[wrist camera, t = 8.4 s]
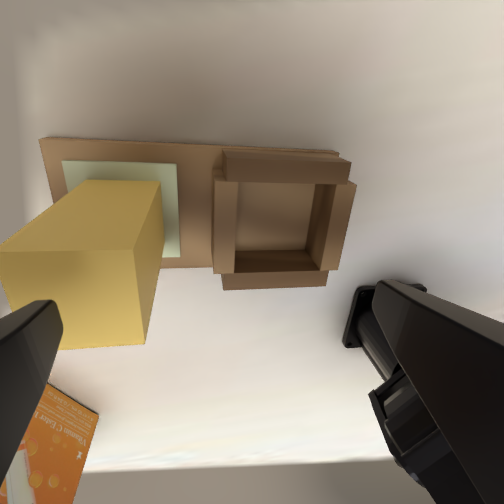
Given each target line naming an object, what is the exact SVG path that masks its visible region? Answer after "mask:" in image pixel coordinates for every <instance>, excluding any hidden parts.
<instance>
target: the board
mask: <svg viewBox="0 0 504 504" xmlns="http://www.w3.org/2000/svg"><path fill="white" fill-rule="evenodd" d="M39 144H40V148H41V152H42V156H43V161H44V165H45V169H46V173H47V177H48V182H49V186H50V190H51V194H52V199H53V203H56V202H57V201H58V200H60V199H61V198H62V197H64V196H65V195H66V194H68V193H69V192H70V191H72V190H73V189H74V188H76V187H77V186H78V185H79V184H81V183H82V182H83V181H85V180H131V181H160V183H161V197H162V211H163V224H164V238H165V245H164V250H163V255H162V260H161V265H160V269H161V268H199V267H213V262H212V254H211V209H212V169H221V170H222V149H240V150H262V151H284V152H307V153H329V154H332V155H334V156H337V157H339V153H338V152H335V151H329V150H308V149H287V148H265V147H244V146H223V145H201V144H180V143H159V142H137V141H116V140H95V139H74V138H52V137H46V138H42V139H39ZM314 190H315V184H297V183H257V182H238V195H237V217H236V239H235V251H253V250H305V245H306V239H307V233H308V227H309V221H310V214H311V208H312V202H313V196H314Z"/></svg>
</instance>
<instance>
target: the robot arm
mask: <svg viewBox="0 0 504 504" xmlns="http://www.w3.org/2000/svg"><path fill="white" fill-rule="evenodd" d="M363 292H364V293H363ZM426 292H427V289H426V287H424V286H423V285H421V284H419V285H410V284H402V283H400V282H397V281H395V280H381V281H379V282H378V283H377V286H371V287H360V288H358V289H357V291H356V293H355V297H354V301H353V305H352V309H351V312H350V316H349V320H348V324H347V327H346V331H345V335H344V339H343V344H344V346H345V347H346V348H358V347H362V349H363V350H364V352H365V353H366V355H367V356H368V358H369V359H370V361H371V362H372V364H373V365H374V367H375V368H376V370H377V371H378V373H379V374H380V376H381V377H382V379H383V380H384V383H383V384H382V385H380V386H379V387H378V388H377V389H376V390H374V389H373V390H372V391H371V392H370V393H369V394H368V395H369V398H370V400H371V403H372V407H373V410H374V412H375V415H376V417H377V420H378V423H379V425H380V428H381V430H382V433H383V435H384V438H385V441H386V443H387V446H388V448H389V451H390V452H391V454H392V455H393V457H394V460H395V462H396V463H397V465H398V466H400V467H401V468H404V469H405V470H406V472H407V473H408V474H409V475H410V476H411V477H412V478H413V479H414V480H415V481H416V482H418V484H420V485H421V486H422V487H424V488H426V489H427V491H428V492H429V493H430V495H431V496H432V498H433V499H434V501H435V502H436V504H504V323H502V322H499V321H496V320H494V319H491V318H489V317H486V316H484V315H481V314H479V313H476V312H474V311H471V310H469V309H466V308H463V307H461V306H458V305H456V304H453V303H451V302H448V301H446V300H443V299H441V298H438V297H435V296H433V295H430V294H428V293H426ZM361 293H363V294H361ZM62 335H63V322H62V319H61V316H60V313H59V309H58V306H57V304H56V302H55V301H54V300H52V299H48V300H36V301H33V302H31V303H29V304H27V305H25V306H24V307H22V308H20V309H18V310H16V311H14V312H12V313H10V314H8V315H6V316H4V317H3V318H1V319H0V488H1V485H2V483H3V481H4V479H5V477H6V474H7V472H8V470H9V468H10V466H11V463H12V461H13V459H14V457H15V454H16V452H17V450H18V448H19V446H20V443H21V441H22V439H23V437H24V435H25V432H26V430H27V428H28V426H29V423H30V421H31V419H32V417H33V415H34V412H35V410H36V408H37V406H38V404H39V401H40V399H41V397H42V394H43V392H44V390H45V387H46V384H47V382H48V379H49V376H50V372H51V369H52V366H53V363H54V360H55V357H56V354H57V351H58V348H59V344H60V341H61V338H62Z"/></svg>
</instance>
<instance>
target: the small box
mask: <svg viewBox="0 0 504 504" xmlns="http://www.w3.org/2000/svg"><path fill="white" fill-rule="evenodd" d="M98 419H99V416H98V415H97V414H95V413H93V412H91V411H89V410H88V409H86V408H85V407H83V406H81V405H80V404H78V403H77V402H75V401H73V400H72V399H70V398H69V397H67V396H66V395H64V394H62V393H61V392H59V391H58V390H56V389H55V388H53V387H52V386H50V385H49V384H46V387H45V390H44V392H43V394H42V397H41V399H40V401H39V404H38V406H37V408H36V410H35V412H34V415H33V417H32V419H31V421H30V423H29V426H28V428H27V430H26V432H25V435H24V437H23V439H22V441H21V443H20V446H19V448H18V450H17V452H16V454H15V457H14V459H13V461H12V463H11V466H10V468H9V470H8V472H7V474H6V477H5V479H4V481H3V483H2V485H1V488H0V504H72V503H73V500H74V497H75V494H76V491H77V487H78V484H79V481H80V478H81V475H82V471H83V468H84V465H85V461H86V458H87V454H88V451H89V448H90V445H91V441H92V438H93V435H94V431H95V428H96V425H97V422H98Z"/></svg>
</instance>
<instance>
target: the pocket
mask: <svg viewBox="0 0 504 504" xmlns="http://www.w3.org/2000/svg"><path fill="white" fill-rule="evenodd" d="M350 168H351V162H349V161H346V160H344V159H342V158H339V157H337V156H334V155H332V154H329V153H307V152H284V151H262V150H240V149H222V170H221V169H212V209H211V254H212V262H213V271H214V274H221V278H222V284H223V290H245V289H269V288H294V287H318V286H326V282H327V278H328V273H329V270H338V267H339V262H340V258H341V253H342V249H343V244H344V240H345V236H346V231H347V227H348V222H349V218H350V213H351V209H352V204H353V200H354V195H355V191H356V187H357V185H356V184H354V183H352V182H350V181H348V177H349V172H350ZM238 182H257V183H297V184H315V190H314V196H313V202H312V208H311V214H310V221H309V227H308V233H307V239H306V245H305V250H253V251H235V239H236V217H237V195H238Z"/></svg>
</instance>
